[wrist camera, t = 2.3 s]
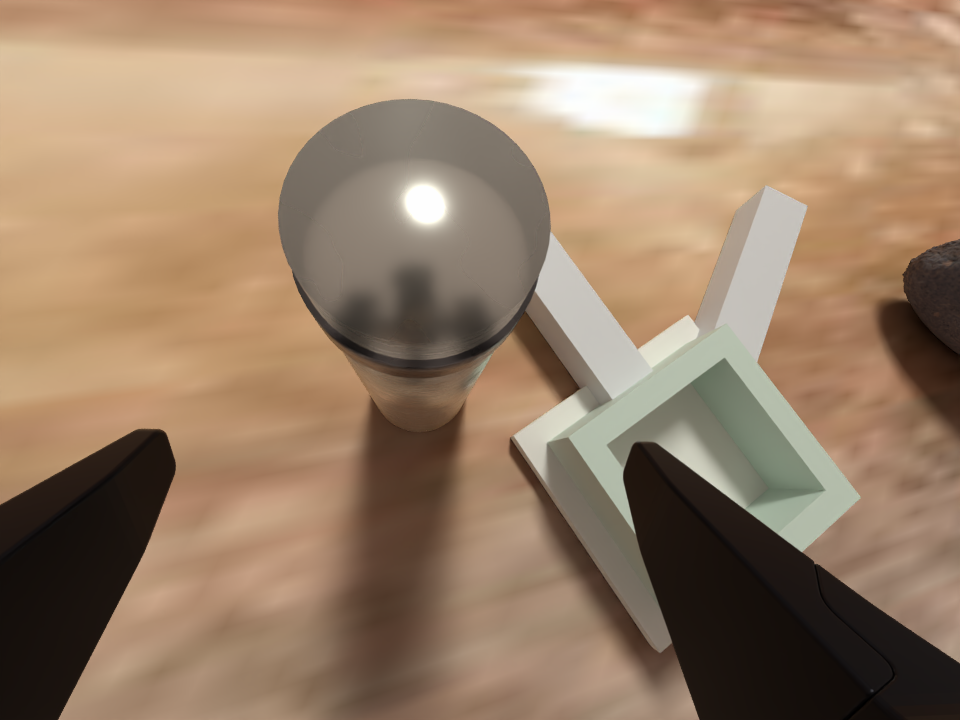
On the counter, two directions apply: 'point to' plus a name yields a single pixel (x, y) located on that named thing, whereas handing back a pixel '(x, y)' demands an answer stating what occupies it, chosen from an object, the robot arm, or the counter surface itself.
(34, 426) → the counter surface
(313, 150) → the shiny grey metal cylinder
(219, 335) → the counter surface
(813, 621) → the robot arm
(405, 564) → the counter surface
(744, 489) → the shaft rig
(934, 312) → the perforated stone tool
